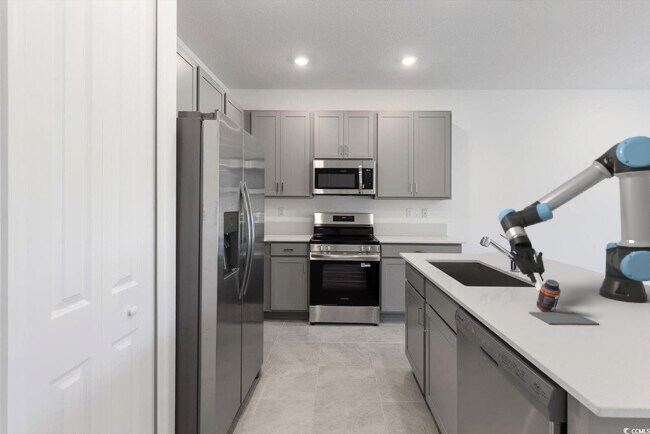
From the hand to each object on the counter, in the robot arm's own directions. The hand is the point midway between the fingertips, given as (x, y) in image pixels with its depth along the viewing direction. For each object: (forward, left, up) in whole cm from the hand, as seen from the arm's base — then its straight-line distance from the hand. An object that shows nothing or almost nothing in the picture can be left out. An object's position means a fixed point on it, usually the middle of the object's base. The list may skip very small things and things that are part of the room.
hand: (541, 289), depth 122 cm
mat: (-1, +10, -7) cm, 12 cm away
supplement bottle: (-1, +1, -7) cm, 7 cm away
